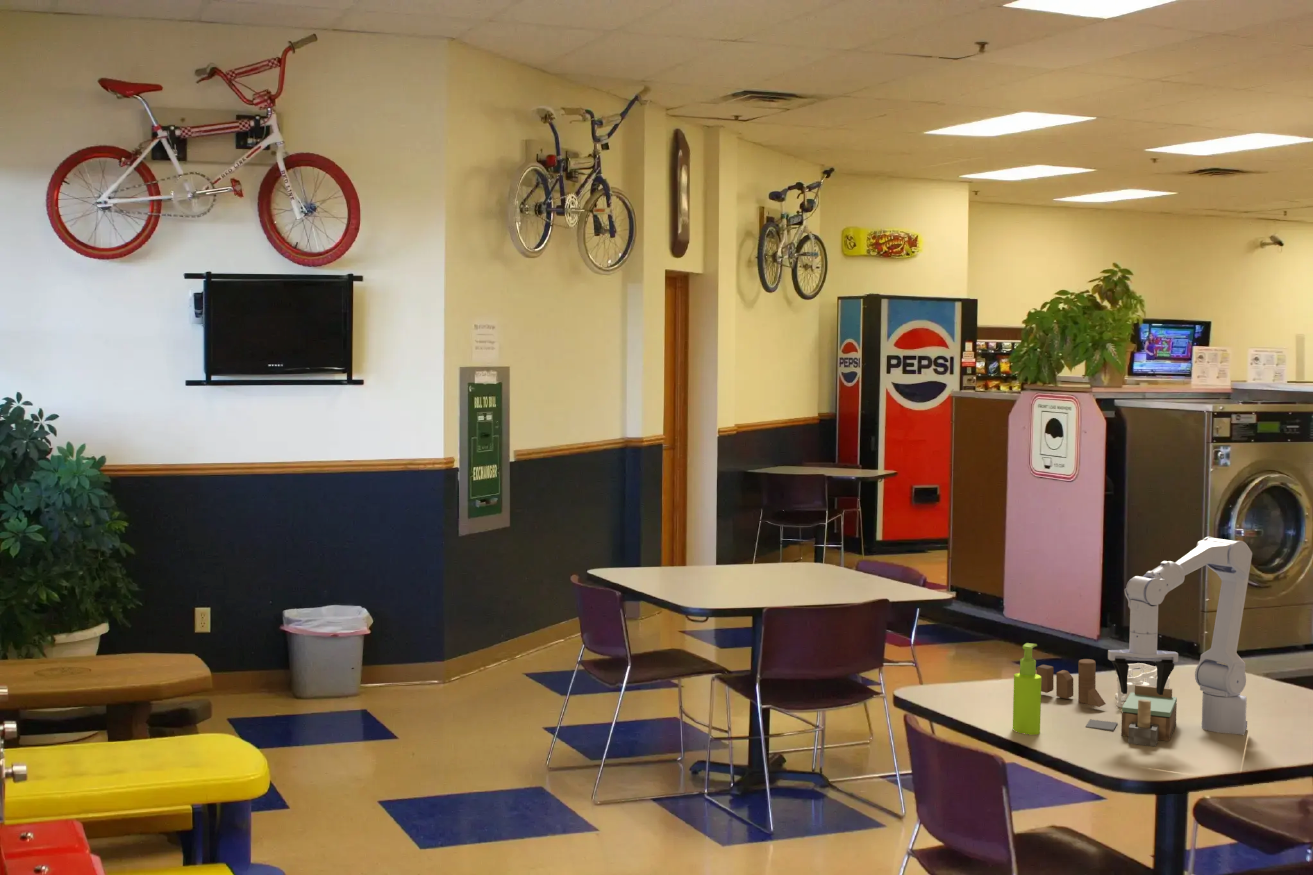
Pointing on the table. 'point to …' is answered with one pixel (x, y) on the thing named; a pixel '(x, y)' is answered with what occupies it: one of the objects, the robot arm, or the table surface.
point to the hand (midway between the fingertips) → (1141, 693)
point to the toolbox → (1148, 736)
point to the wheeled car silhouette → (1138, 681)
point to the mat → (1102, 725)
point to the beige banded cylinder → (1144, 713)
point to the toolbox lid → (1159, 703)
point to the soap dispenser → (1027, 695)
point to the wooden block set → (1065, 682)
